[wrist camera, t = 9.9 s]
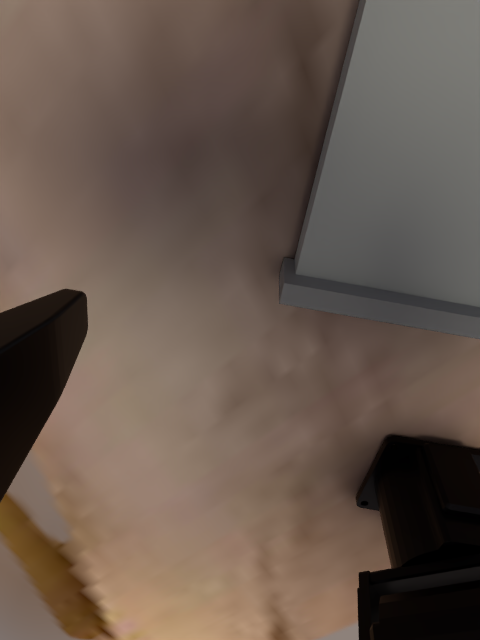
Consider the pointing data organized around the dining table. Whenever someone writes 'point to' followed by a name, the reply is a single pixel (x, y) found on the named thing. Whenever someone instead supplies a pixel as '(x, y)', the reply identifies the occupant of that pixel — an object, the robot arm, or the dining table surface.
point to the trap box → (399, 175)
